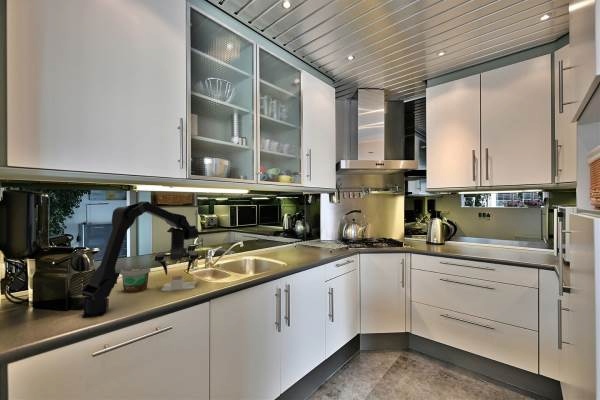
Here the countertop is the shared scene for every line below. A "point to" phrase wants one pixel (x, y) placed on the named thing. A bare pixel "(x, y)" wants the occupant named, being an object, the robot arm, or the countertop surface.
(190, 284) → the sage mat
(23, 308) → the countertop surface
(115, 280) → the robot arm
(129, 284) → the food container
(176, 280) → the card deck
